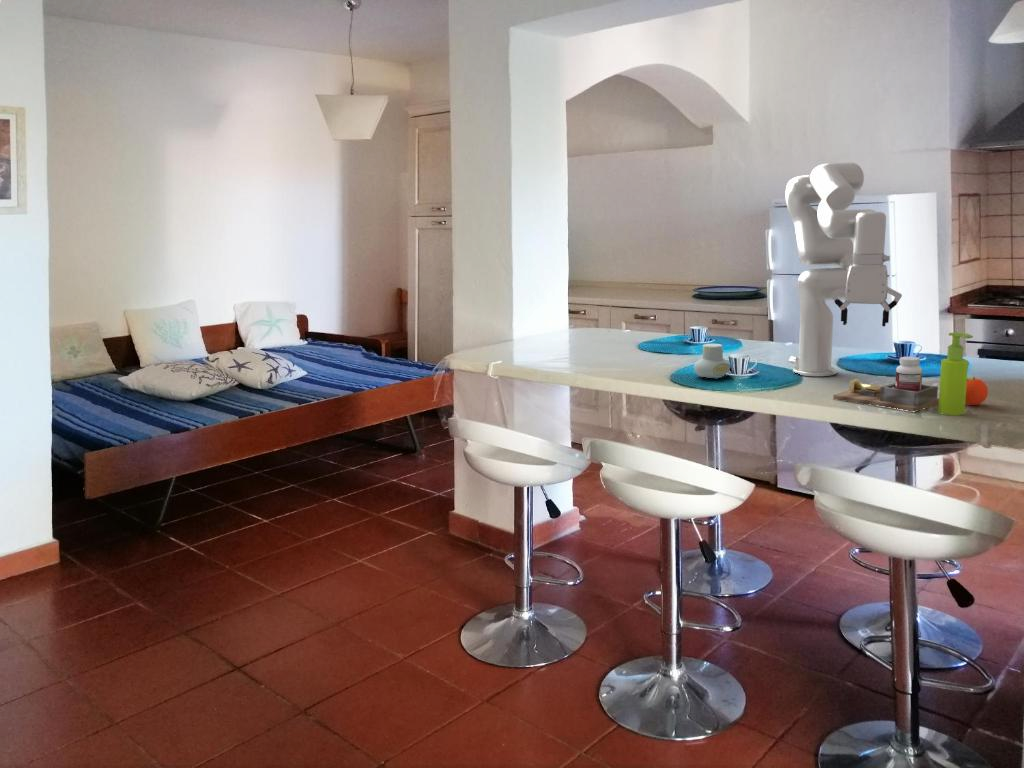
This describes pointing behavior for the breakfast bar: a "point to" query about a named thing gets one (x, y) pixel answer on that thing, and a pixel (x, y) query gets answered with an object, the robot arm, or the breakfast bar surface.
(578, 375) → the breakfast bar surface
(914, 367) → the pill bottle
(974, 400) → the clementine
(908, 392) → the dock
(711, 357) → the air freshener
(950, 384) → the soap dispenser
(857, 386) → the lock pin
